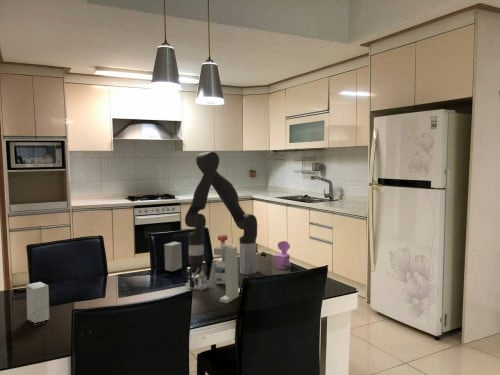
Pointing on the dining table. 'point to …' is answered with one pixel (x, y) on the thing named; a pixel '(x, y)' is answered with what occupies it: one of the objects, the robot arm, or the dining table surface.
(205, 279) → the housing
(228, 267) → the press frame
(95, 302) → the dining table surface
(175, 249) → the skincare box
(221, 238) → the ram
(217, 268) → the light bulb box
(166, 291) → the dining table surface
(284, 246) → the purple upright piece
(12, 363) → the dining table surface
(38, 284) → the skincare box
